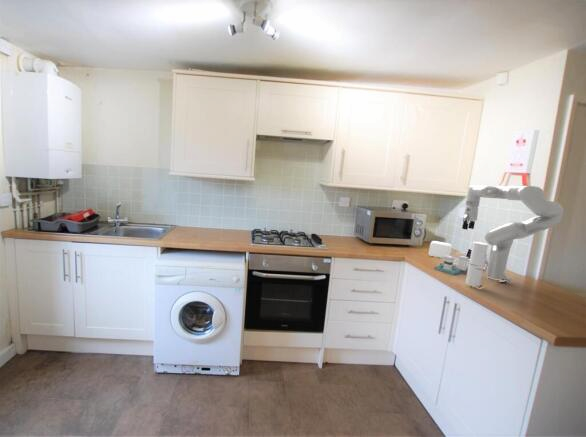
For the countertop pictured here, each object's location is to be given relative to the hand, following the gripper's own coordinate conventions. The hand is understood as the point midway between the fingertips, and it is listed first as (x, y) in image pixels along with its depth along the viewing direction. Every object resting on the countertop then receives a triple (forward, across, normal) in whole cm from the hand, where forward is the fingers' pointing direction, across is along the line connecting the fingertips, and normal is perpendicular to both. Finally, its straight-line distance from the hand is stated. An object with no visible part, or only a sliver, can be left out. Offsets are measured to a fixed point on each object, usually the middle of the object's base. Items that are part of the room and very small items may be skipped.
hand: (467, 228), depth 203 cm
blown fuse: (+27, -22, -1) cm, 35 cm away
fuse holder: (+28, -13, -1) cm, 30 cm away
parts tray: (+28, -22, -1) cm, 35 cm away
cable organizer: (+28, +14, +22) cm, 38 cm away
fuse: (+27, -13, -6) cm, 30 cm away
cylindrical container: (+28, -32, -20) cm, 47 cm away
